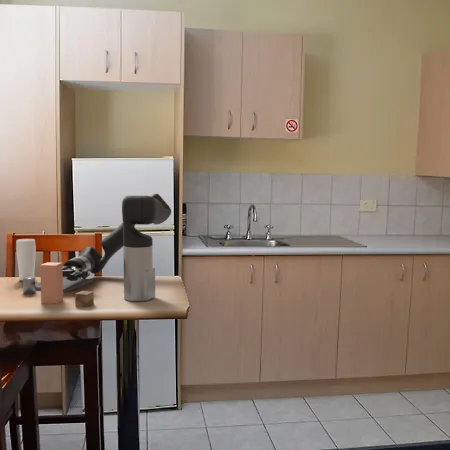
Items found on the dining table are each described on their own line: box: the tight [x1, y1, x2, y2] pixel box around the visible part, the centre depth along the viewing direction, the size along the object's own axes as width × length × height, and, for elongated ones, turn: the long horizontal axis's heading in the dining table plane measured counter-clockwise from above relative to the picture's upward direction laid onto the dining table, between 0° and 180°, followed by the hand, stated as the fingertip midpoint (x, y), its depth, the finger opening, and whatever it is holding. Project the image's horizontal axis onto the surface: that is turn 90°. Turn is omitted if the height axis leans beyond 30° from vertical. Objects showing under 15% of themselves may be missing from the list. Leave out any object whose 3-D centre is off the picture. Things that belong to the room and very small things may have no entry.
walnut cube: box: [74, 290, 95, 308], centre depth 168 cm, size 4×4×4 cm
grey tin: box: [22, 276, 37, 295], centre depth 183 cm, size 4×4×5 cm
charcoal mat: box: [36, 278, 93, 293], centre depth 195 cm, size 14×18×1 cm
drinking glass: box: [15, 238, 37, 282], centre depth 204 cm, size 7×7×15 cm
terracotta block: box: [39, 261, 64, 304], centre depth 171 cm, size 5×5×12 cm
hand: (58, 277), depth 177 cm, fingers open, 8 cm apart
